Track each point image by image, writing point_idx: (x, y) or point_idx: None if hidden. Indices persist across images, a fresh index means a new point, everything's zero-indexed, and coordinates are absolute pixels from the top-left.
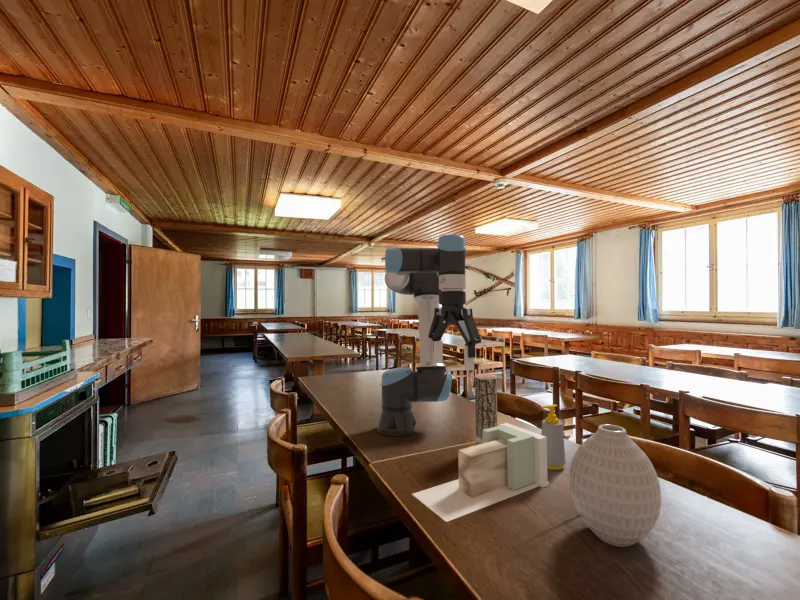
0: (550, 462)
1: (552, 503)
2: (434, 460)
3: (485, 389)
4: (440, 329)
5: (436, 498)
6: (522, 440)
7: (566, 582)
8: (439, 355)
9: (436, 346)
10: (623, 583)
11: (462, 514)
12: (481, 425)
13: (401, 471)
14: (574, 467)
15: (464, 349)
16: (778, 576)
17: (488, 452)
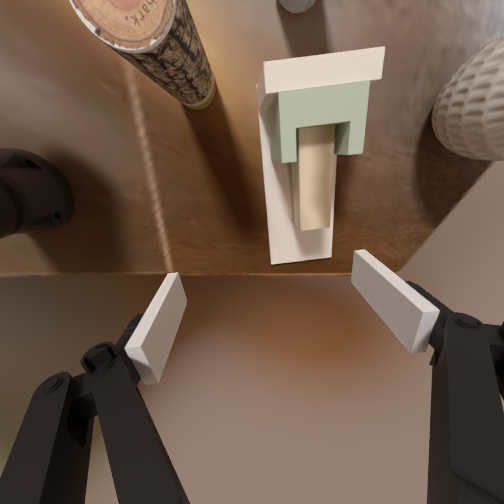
0: (310, 4)
1: (370, 118)
2: (191, 194)
3: (181, 50)
4: (174, 470)
5: (292, 246)
6: (364, 123)
7: (438, 212)
8: (173, 306)
9: (164, 352)
10: (475, 170)
11: (330, 238)
12: (195, 95)
13: (209, 249)
14: (497, 150)
15: (399, 337)
16: None
17: (331, 193)
